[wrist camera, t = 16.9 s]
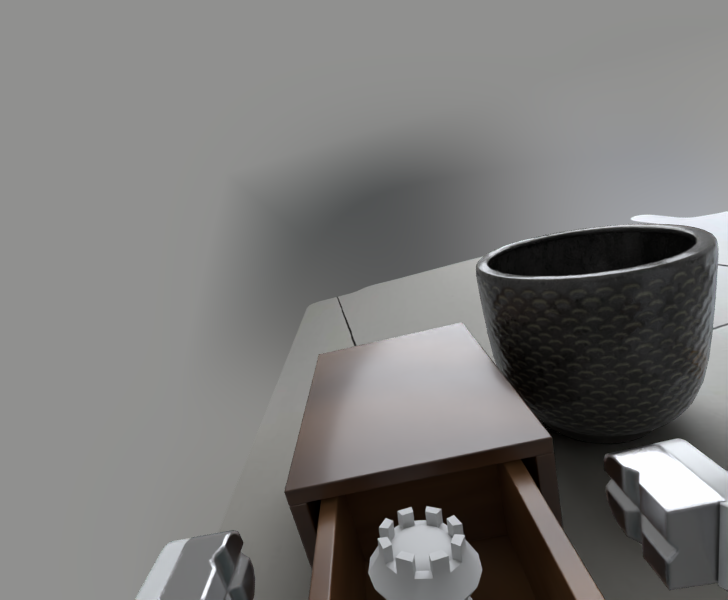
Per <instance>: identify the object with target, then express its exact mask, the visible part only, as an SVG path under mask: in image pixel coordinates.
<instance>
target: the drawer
mask: <svg viewBox="0 0 728 600" xmlns="http://www.w3.org/2000/svg"><path fill="white" fill-rule="evenodd" d="M427 506H428V507H434V508H439V509H442V519H443V523H444V524H446V525H447V518H449V517H451V516H453V515H454V516H455V517H456V518H457V519H458V520H459V521H460V522H461V523H462V525H463V535H465V540H466V541H467V542H468V543H469V544H470V545H471V546H472V547H473V549H474V550H475V551H476V552H477V553H478V555H479V559H480V562H481V566H482V573H481V577H480V580H479V583H478V587H477V588H476V589H475V590H474V592H473V593H472V594H471V595H470V597H471V598H472V600H605V599H604V597H603V595H602V594H601V592H600V590H599V589H598V587H597V585H596V584H595V582H594V580H593V579H592V577H591V575H590V574H589V572H588V570H587V569H586V567H585V565H584V564H583V562H582V560H581V559H580V557H579V555H578V554H577V552H576V550H575V549H574V547H573V545H572V544H571V542H570V540H569V539H568V537H567V535H566V534H565V532H564V530H563V529H562V527H561V525H560V524H559V522H558V520H557V519H556V517H555V515H554V514H553V512H552V510H551V509H550V507H549V505H548V504H547V502H546V500H545V499H544V497H543V496H542V494H541V492H540V491H539V489H538V487H537V486H536V484H535V482H534V481H533V479H532V477H531V476H530V474H529V472H528V471H527V469H526V467H525V466H524V464H523V462H522V461H521V459H519V460H514V461H509V462H504V463H499V464H494V465H489V466H484V467H479V468H474V469H469V470H464V471H460V472H455V473H450V474H445V475H440V476H435V477H430V478H425V479H420V480H415V481H410V482H405V483H400V484H395V485H390V486H385V487H380V488H375V489H371V490H366V491H361V492H356V493H351V494H346V495H341V496H336V497H331V498H326V499H321V504H320V512H319V520H318V528H317V536H316V544H315V552H314V560H313V568H312V576H311V584H310V592H309V600H386V599H385V598H384V597H383V596H382V595H381V594H380V593H379V592H377V591H376V590H375V588H374V586H373V583H372V581H371V579H370V576H369V574H368V571H369V564H370V557H371V556H372V554H373V553H374V551H375V550H376V548H377V547H378V538H380V534H379V526H380V525H381V524H382V522H383V521H384V520H385V518H387V519H390V520H392V521H393V523H394V528H395V527H396V526H398V525H399V523H398V514H397V511H399V510H402V509H406V508H409V507H412V510H413V514H414V521H417V520H426V513H425V511H426V507H427Z"/></svg>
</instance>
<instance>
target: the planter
mask: <svg viewBox="0 0 728 600" xmlns="http://www.w3.org/2000/svg"><path fill="white" fill-rule="evenodd" d="M717 269H718V243H717V239H716V238H715V237H714V235H713V234H711V233H709V232H707V231H705V230H703V229H699V228H695V227H690V226H683V225H672V224H628V225H613V226H603V227H593V228H585V229H578V230H571V231H564V232H559V233H553V234H548V235H543V236H539V237H534V238H530V239H526V240H523V241H519V242H515V243H512V244H510V245H506V246H504V247H501V248H498V249H496V250H494V251H492V252H490V253H488V254H487V255H485V256H483V257H482V258H481V259H480V260H479V261H478V263H477V265H476V277H477V283H478V288H479V294H480V299H481V304H482V309H483V314H484V318H485V323H486V327H487V332H488V336H489V340H490V344H491V348H492V352H493V357H494V359H495V362H496V365H497V367H498V369H499V370H500V371H501V372H502V374H503V375H504V376H505V378H506V379H507V380H508V381H509V383H510V384H511V385H512V386H513V388H514V389H515V390H516V392H517V393H518V394H519V395H520V397H521V398H522V399H523V401H524V402H525V403H526V404H527V406H528V407H529V408H530V410H531V411H532V412H533V413H534V415H535V416H536V417H537V418H538V419H539V420H541V421H543V422H544V423H545V424H546V425H547V426H549V427H550V428H551V429H553V430H555V431H556V432H558V433H561V434H563V435H565V436H567V437H570V438H573V439H577V440H581V441H586V442H592V443H621V442H627V441H631V440H635V439H637V438H640V437H643V436H644V435H646V434H648V433H650V432H651V431H652V430H654V429H656V428H659V427H661V426H664V425H666V424H667V423H669V422H671V421H672V420H674V419H676V418H677V417H678V416H680V415H681V414H682V413H683V412H684V411H685V410H686V409H687V408H688V407H689V406H690V405H691V404H692V403H693V401H694V399H695V397H696V395H697V393H698V391H699V389H700V387H701V385H702V383H703V381H704V377H705V373H706V369H707V365H708V360H709V355H710V347H711V339H712V331H713V321H714V310H715V299H716V285H717Z"/></svg>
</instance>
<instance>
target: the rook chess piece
mask: <svg viewBox="0 0 728 600" xmlns="http://www.w3.org/2000/svg"><path fill="white" fill-rule="evenodd" d="M425 513H426V520H417V521H414V514H413V510H412V507H409V508H406V509H402V510H399V511H397V514H398V523H399V525H398V526H396V527H395V528H394V523H393V521H392V520H390V519H387V518H385V520H384V521H383V522H382V524H381V525H380V526H379V534H380V538H378V547H377V548H376V550H375V551H374V553H373V554H372V556H371V557H370V564H369V571H368V574H369V576H370V579H371V581H372V583H373V586H374V588H375V590H376V591H377V592H379V593H380V594H381V595H382V596H383V597H384V598H385V599H386V600H472V598H471V597H470V595H471V594H472V593H473V592H474V590H475V589H476V588H477V587H478V583H479V580H480V577H481V573H482V566H481V562H480V559H479V555H478V553H477V552H476V551H475V550H474V549H473V547H472V546H471V545H470V544H469V543H468V542H467V541H466V540H465V535H463V525H462V523H461V522H460V521H459V520H458V519H457V518H456V517H455V516H454V515H453V516H451V517H449V518H447V525H446V524H444V523H443V519H442V509H439V508H434V507H428V506H427V507H426V511H425Z"/></svg>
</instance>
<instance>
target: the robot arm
mask: <svg viewBox="0 0 728 600" xmlns="http://www.w3.org/2000/svg"><path fill="white" fill-rule="evenodd" d="M604 470H605V472H606V473H607V474H608V475H609V476H610V477H611V479H610V481H609V482H608V484H607V486H606V487H605V488H606V496H607V502H608V504H609V507H610V510H611V512H612V515H613V516H614V518H615V520H616V522H617V523H618V525H619V526H620V528H621V529H622V530H623V532H624V533H625V534H626V536H627V537H629V538H631V539H633V540H635V541H637V542H638V543H640V544H642V550H643V557H644V559H645V560H646V561H647V563H648V564H649V565H650V566H651V568H652V569H653V570H654V571H655V573H656V574H657V575H658V577H659V578H660V579H661V580H662V582H663V583H664V584H665V585H666V587H667V588H668V589H669V590H674V589H680V588H687V587H694V586H700V585H707V584H713V583H718V586H720V587H721V588H723V589H725V590H726V591H728V472H727V471H726V470H724V469H723V468H722V467H720V466H719V465H718V464H716V463H715V462H714V461H712V460H711V459H710V458H708V457H707V456H706V455H704V454H703V453H702V452H700V451H699V450H698V449H696V448H695V447H694V446H692V445H691V444H690V443H688V442H687V441H685V440H682V439H680V438H677V439H672V440H668V441H663V442H659V443H654V444H653V445H646V446H641V447H637V448H632V449H627V450H623V451H618V452H613V453H609V454H605V457H604ZM242 546H243V541H242V539H241V536H240V534H239V532H238V531H234V530H231V531H226V532H220V533H214V534H209V535H203V536H197V537H192V538H190V539H184V540H178V541H171V542H170V543H168V544H167V545H166V546H165V547H164V548H163V549H162V551H161V553H160V555H159V557H158V559H157V560H156V562H155V564H154V566H153V568H152V569H151V571H150V573H149V575H148V577H147V578H146V580H145V582H144V584H143V586H142V587H141V589H140V591H139V593H138V594H137V596H136V599H135V600H253V598H254V590H255V575H254V569H253V565H252V563H251V560H250V558H249V557H247V556H246V555H244V554H243V553H241V549H242Z"/></svg>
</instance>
